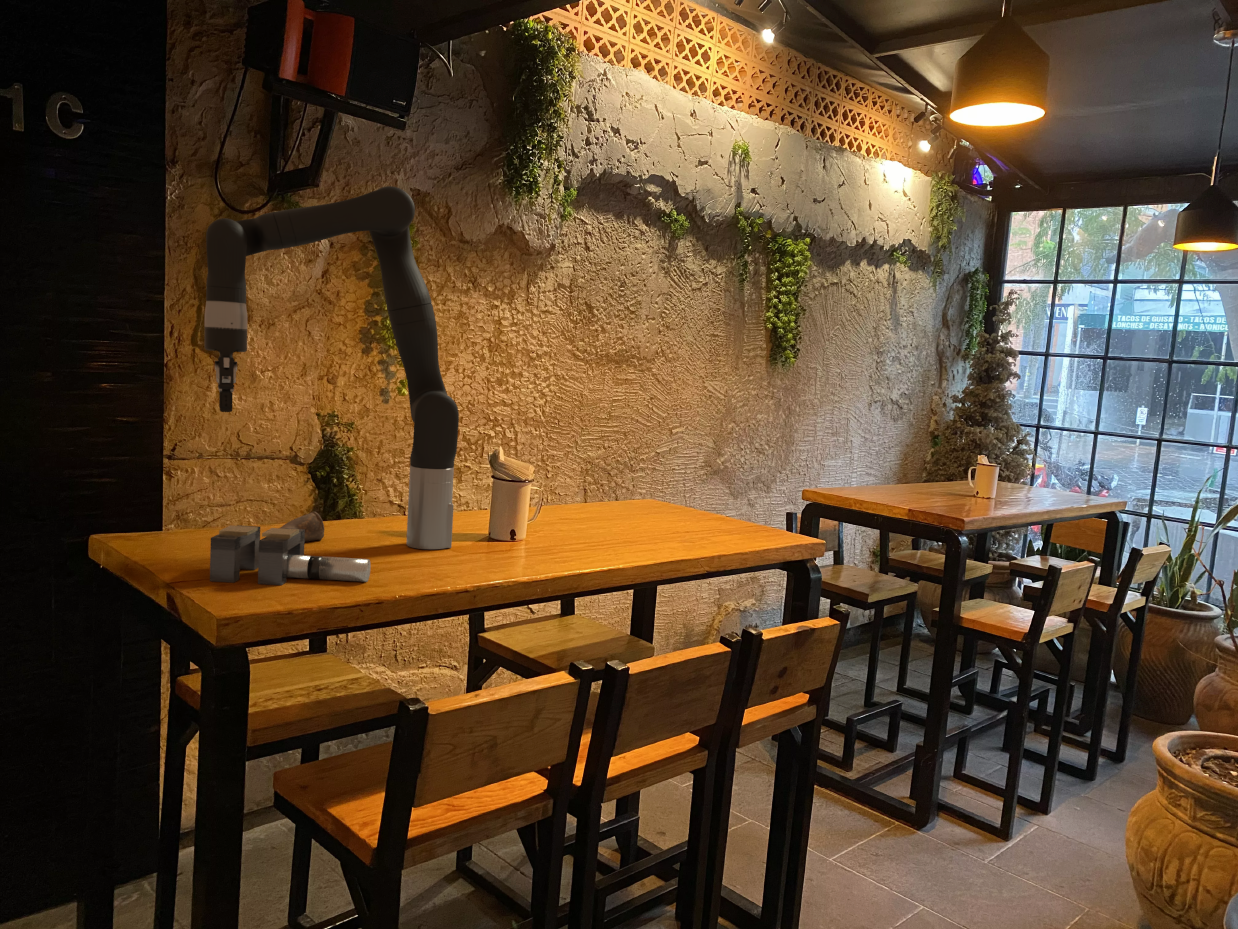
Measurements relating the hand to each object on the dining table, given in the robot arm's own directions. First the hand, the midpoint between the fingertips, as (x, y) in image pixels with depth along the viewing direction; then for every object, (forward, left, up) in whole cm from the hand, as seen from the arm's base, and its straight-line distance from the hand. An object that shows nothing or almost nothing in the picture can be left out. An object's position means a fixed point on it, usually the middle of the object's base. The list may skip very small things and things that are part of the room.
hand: (225, 410), depth 171 cm
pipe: (-14, -4, -28) cm, 32 cm away
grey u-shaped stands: (-8, +22, -27) cm, 36 cm away
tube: (-18, +25, -27) cm, 41 cm away
